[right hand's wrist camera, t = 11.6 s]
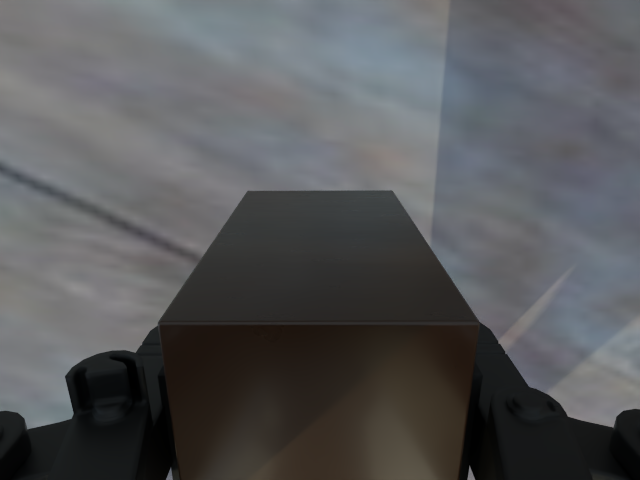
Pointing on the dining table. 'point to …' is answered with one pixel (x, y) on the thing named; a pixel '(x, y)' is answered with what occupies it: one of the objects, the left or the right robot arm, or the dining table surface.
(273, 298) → the walnut plank
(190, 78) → the dining table surface
